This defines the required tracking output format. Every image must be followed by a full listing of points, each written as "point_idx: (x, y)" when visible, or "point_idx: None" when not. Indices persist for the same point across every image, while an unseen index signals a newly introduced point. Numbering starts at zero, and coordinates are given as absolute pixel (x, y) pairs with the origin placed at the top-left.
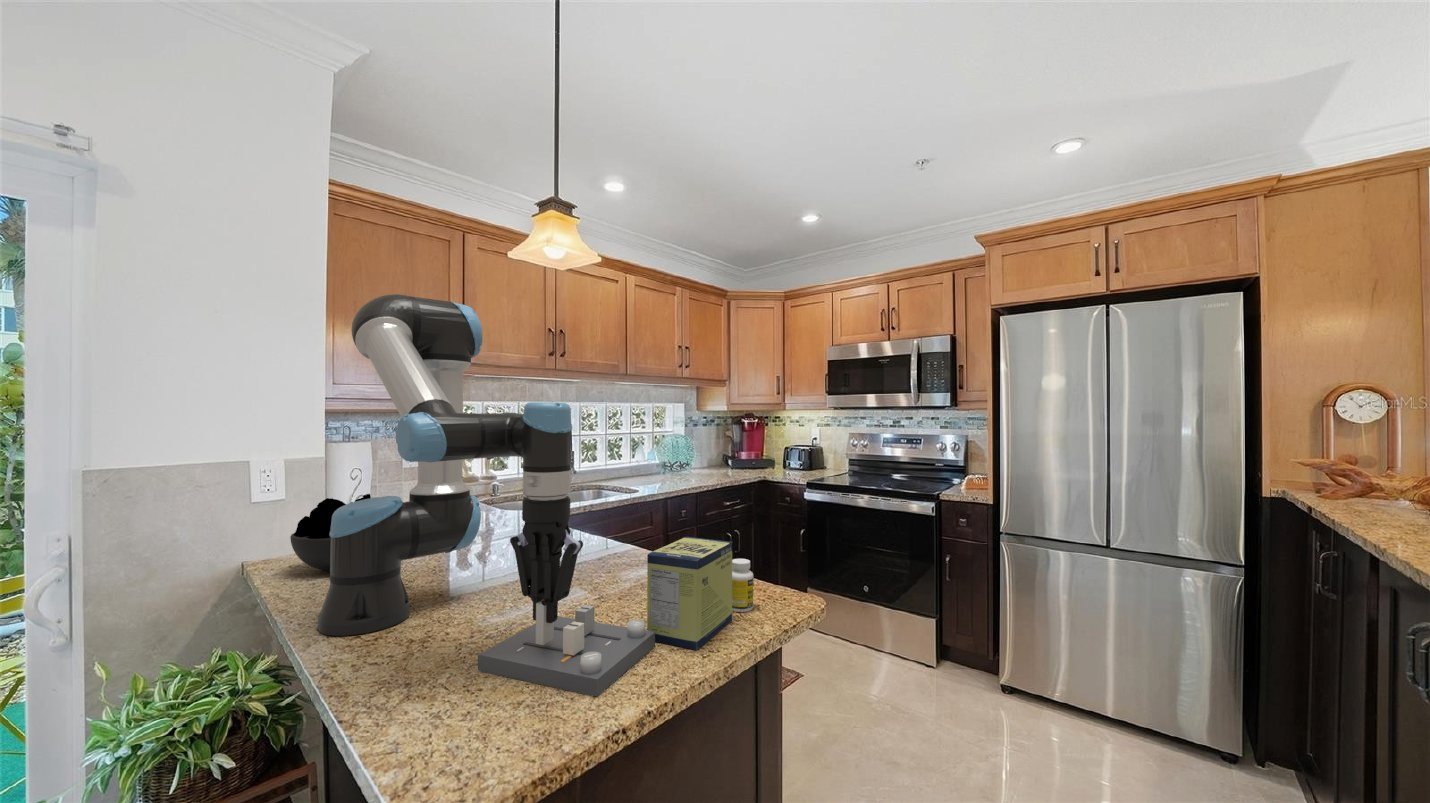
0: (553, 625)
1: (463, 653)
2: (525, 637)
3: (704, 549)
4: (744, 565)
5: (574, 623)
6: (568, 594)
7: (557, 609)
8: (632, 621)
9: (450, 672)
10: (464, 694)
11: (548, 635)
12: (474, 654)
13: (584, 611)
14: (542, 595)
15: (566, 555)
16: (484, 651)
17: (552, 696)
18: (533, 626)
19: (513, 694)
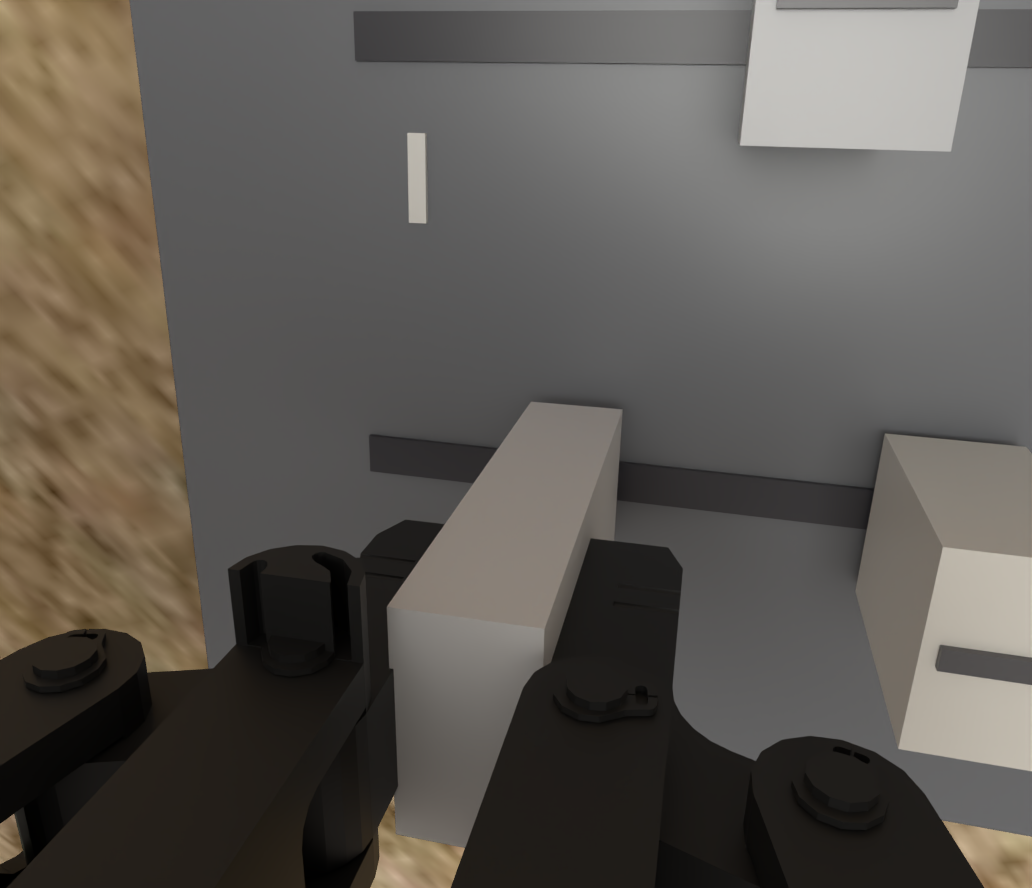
0: (604, 465)
1: (3, 449)
2: (295, 343)
3: None
4: None
5: (988, 605)
6: (924, 807)
7: (677, 630)
8: None
9: (152, 671)
10: (416, 852)
11: (609, 514)
12: (70, 443)
13: (923, 128)
14: (363, 762)
15: None
16: (212, 639)
17: (945, 821)
18: (173, 79)
19: None
